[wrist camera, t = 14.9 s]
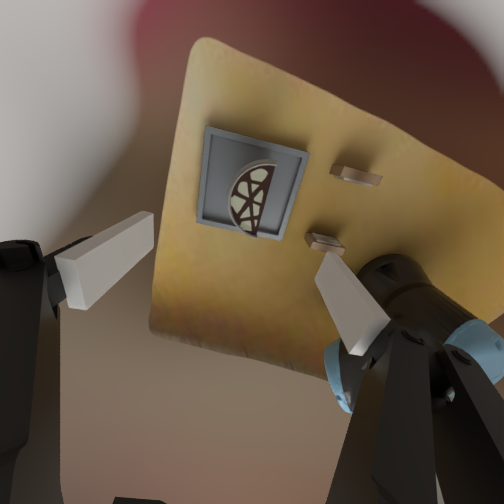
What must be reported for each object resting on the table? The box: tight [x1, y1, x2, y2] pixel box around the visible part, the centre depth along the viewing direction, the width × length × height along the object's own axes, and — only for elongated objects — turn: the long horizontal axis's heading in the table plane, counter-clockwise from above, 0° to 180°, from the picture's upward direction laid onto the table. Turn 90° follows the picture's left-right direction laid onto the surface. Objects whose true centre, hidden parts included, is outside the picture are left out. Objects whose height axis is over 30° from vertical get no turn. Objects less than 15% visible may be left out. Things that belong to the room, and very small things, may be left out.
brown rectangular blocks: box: [304, 164, 383, 256], centre depth 37 cm, size 7×16×5 cm, turn 167°
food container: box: [227, 159, 277, 239], centre depth 33 cm, size 12×6×10 cm, turn 166°
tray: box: [196, 126, 310, 241], centre depth 37 cm, size 18×17×2 cm
